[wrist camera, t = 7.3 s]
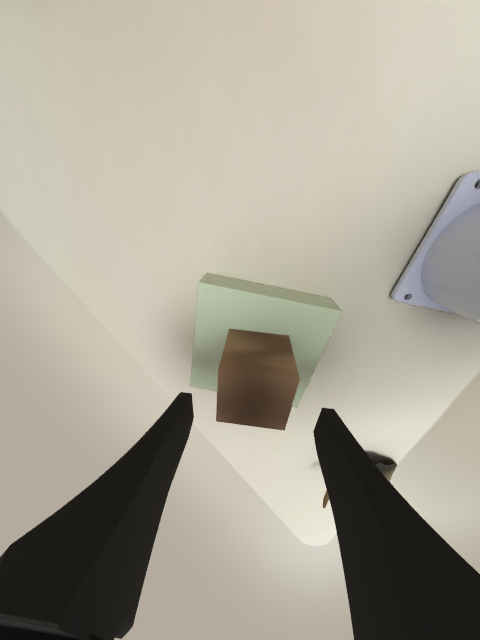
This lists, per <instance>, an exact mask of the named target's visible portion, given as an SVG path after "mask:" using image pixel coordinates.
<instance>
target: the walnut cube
mask: <svg viewBox="0 0 480 640" xmlns="http://www.w3.org/2000/svg"><path fill="white" fill-rule="evenodd" d="M299 381H300V378H299V374H298V370H297V366H296V362H295V358H294V354H293V350H292V346H291V342H290V338H289V335H281V334H272V333H263V332H255V331H246V330H237V329H229V331H228V335H227V338H226V342H225V346H224V349H223V353H222V357H221V360H220V364H219V368H218V386H217V414H216V421H218V422H225V423H233V424H240V425H248V426H255V427H263V428H270V429H278V430H285V427H286V424H287V421H288V417H289V414H290V411H291V407H292V404H293V401H294V397H295V394H296V391H297V387H298V384H299Z"/></svg>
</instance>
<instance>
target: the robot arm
mask: <svg viewBox="0 0 480 640" xmlns="http://www.w3.org/2000/svg"><path fill="white" fill-rule="evenodd" d="M478 180H479V184H478V186H477V187H476V188H475V183H476V182H477V181H478ZM406 294H408V296H407V297H406V298H404V296H405V295H406ZM391 297H392V299H393V300H395V301H397V302H402V303H407V304H412V305H416V306H421V307H426V308H431V309H435V310H440V311H445V312H450V313H454V314H459V315H463V316H465V317H467V318H469V319H471V320H473V321H475V322H477V323H479V324H480V172H478V171H474V172H469V173H466V174H464V175H463V176H462V177H460V179H459V180H458V181H457V183H456V185H455V186H454V188H453V190H452V192H451V193H450V195H449V197H448V198H447V200H446V202H445V203H444V205H443V207H442V209H441V210H440V212H439V214H438V215H437V217H436V219H435V220H434V222H433V224H432V226H431V227H430V229H429V231H428V232H427V234H426V236H425V237H424V239H423V241H422V243H421V244H420V246H419V248H418V249H417V251H416V253H415V254H414V256H413V258H412V259H411V261H410V263H409V265H408V266H407V268H406V270H405V271H404V273H403V275H402V276H401V278H400V280H399V282H398V283H397V285H396V287H395V288H394V290H393V292H392V294H391ZM193 418H194V415H193V404H192V393H183V392H181V393H179V394H178V396H177V397H176V398H175V400H174V401H173V402H172V404H171V405H170V406H169V407H168V409H167V410H166V411H165V412H164V413H163V415H162V416H161V417H160V418H159V419H158V420H157V421H156V422H155V424H154V425H153V426H152V427H151V428H150V429H149V430H148V431H147V432H146V433H145V434H144V435H143V437H142V438H141V439H140V440H139V441H138V442H137V443H136V444H135V445H134V446H133V447H132V448H131V449H130V450H129V451H128V452H127V453H126V454H125V455H124V456H123V457H121V458H120V459H119V460H118V461H117V462H116V463H115V464H114V465H113V466H112V467H110V468H109V469H108V470H107V471H106V472H105V473H104V474H102V475H101V476H100V477H99V478H98V479H97V480H96V481H95V482H93V483H92V484H91V485H90V486H89V487H87V488H86V489H85V490H83V491H82V492H81V493H80V494H78V495H77V496H76V497H75V498H73V499H72V500H71V501H69V502H68V503H67V504H66V505H64V506H63V507H62V508H61V509H60V510H58V511H57V512H55V513H54V514H53V515H51V516H50V517H48V518H47V519H46V520H44V521H43V522H42V523H40V524H39V525H37V526H36V527H35V528H33V529H32V530H30V531H29V532H28V533H26V534H25V535H24V536H22V537H21V538H19V539H18V540H17V541H15V542H14V543H12V544H11V545H10V546H9V548H8V549H7V550H6V551H5V552H4V553H3V555H2V556H1V557H0V640H114V638H120V639H121V638H123V637H124V635H126V633H127V632H128V631H129V630H130V629H131V628H132V626H133V623H134V619H135V615H136V611H137V607H138V603H139V598H140V595H141V591H142V587H143V582H144V579H145V575H146V571H147V567H148V563H149V560H150V556H151V552H152V548H153V544H154V541H155V537H156V533H157V530H158V526H159V523H160V519H161V515H162V512H163V509H164V505H165V502H166V498H167V495H168V492H169V489H170V486H171V483H172V480H173V478H174V475H175V472H176V469H177V467H178V464H179V461H180V459H181V456H182V453H183V451H184V448H185V445H186V443H187V440H188V437H189V433H190V429H191V426H192V422H193ZM314 438H315V444H316V450H317V455H318V459H319V462H320V466H321V470H322V474H323V477H324V481H325V485H326V488H327V492H328V496H329V499H330V503H331V507H332V511H333V515H334V520H335V525H336V530H337V536H338V541H339V545H340V552H341V558H342V563H343V569H344V575H345V581H346V587H347V593H348V599H349V606H350V613H351V620H352V627H353V634H354V640H480V574H479V573H478V572H477V571H476V570H475V569H474V568H473V567H472V566H470V565H469V564H468V563H467V562H466V561H465V560H464V559H463V558H462V557H461V556H460V555H459V554H458V553H457V552H456V551H455V550H454V549H453V548H452V547H451V546H450V545H449V544H448V543H447V542H446V541H445V540H444V539H443V538H441V536H440V535H439V534H438V533H437V532H436V531H435V530H434V529H433V528H432V527H431V526H430V525H429V524H428V523H427V522H426V521H425V520H424V519H422V517H421V516H420V515H419V514H418V513H417V512H416V511H415V510H414V509H413V508H412V507H411V506H410V504H409V503H408V502H407V501H406V500H405V499H404V498H403V497H402V496H401V495H400V494H399V492H398V491H397V490H396V489H395V488H394V487H393V485H391V483H390V482H389V481H388V480H387V478H386V477H385V476H384V475H383V474H382V472H381V471H380V470H379V469H378V468H377V466H376V465H375V464H374V463H373V461H372V460H371V459H370V458H369V456H368V455H367V454H366V452H365V451H364V450H363V448H362V447H361V446H360V444H359V443H358V442H357V441H356V439H355V438H354V436H353V435H352V434H351V432H350V431H349V430H348V428H347V427H346V425H345V424H344V423H343V421H342V420H341V418H340V417H339V416H338V414H337V413H336V411H335V410H334V409H328V408H322V410H321V413H320V415H319V418H318V421H317V423H316V426H315V429H314Z"/></svg>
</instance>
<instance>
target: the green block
mask: <svg viewBox="0 0 480 640" xmlns="http://www.w3.org/2000/svg"><path fill="white" fill-rule="evenodd" d="M341 313H342V310H341V309H340V308H339V307H338V306H337V305H336V304H335V302H334V301H333V300H332V299H331V298H328V297H323V296H318V295H313V294H308V293H303V292H298V291H293V290H288V289H283V288H279V287H274V286H269V285H264V284H259V283H254V282H249V281H244V280H239V279H234V278H229V277H224V276H219V275H214V274H209V273H207V274H206V275H205V276H204V277H203V278H202V279H201V280H200V281H199V285H198V297H197V309H196V321H195V333H194V345H193V357H192V369H191V381H190V386H191V387H196V388H201V389H206V390H211V391H216V392H217V386H218V368H219V364H220V360H221V357H222V353H223V349H224V346H225V342H226V338H227V335H228V331H229V329H237V330H246V331H255V332H263V333H272V334H281V335H289V338H290V342H291V346H292V350H293V354H294V358H295V362H296V366H297V370H298V374H299V378H300V381H299V384H298V387H297V391H296V394H295V397H294V401H293V404H292V407H296V408H297V406H298V404H299V401H300V399H301V397H302V395H303V393H304V391H305V389H306V387H307V385H308V383H309V380H310V378H311V376H312V374H313V372H314V370H315V368H316V366H317V364H318V361H319V359H320V357H321V355H322V353H323V351H324V349H325V347H326V345H327V342H328V340H329V338H330V336H331V334H332V332H333V330H334V328H335V326H336V324H337V321H338V319H339V317H340V315H341Z"/></svg>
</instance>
